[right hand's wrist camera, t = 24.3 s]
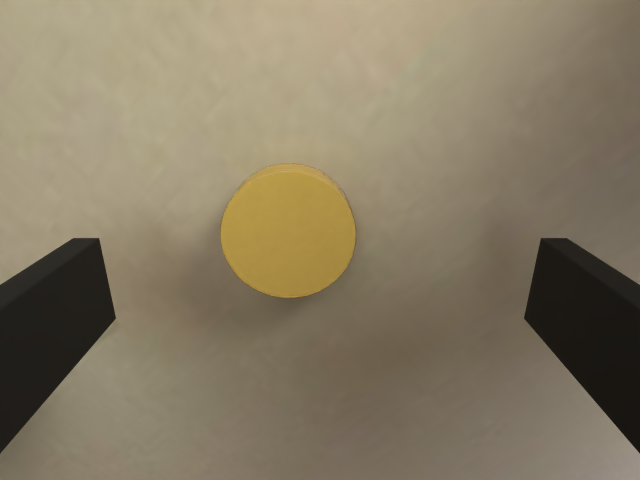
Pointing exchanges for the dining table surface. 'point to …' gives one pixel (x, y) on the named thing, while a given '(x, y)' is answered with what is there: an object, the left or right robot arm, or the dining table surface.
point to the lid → (288, 231)
